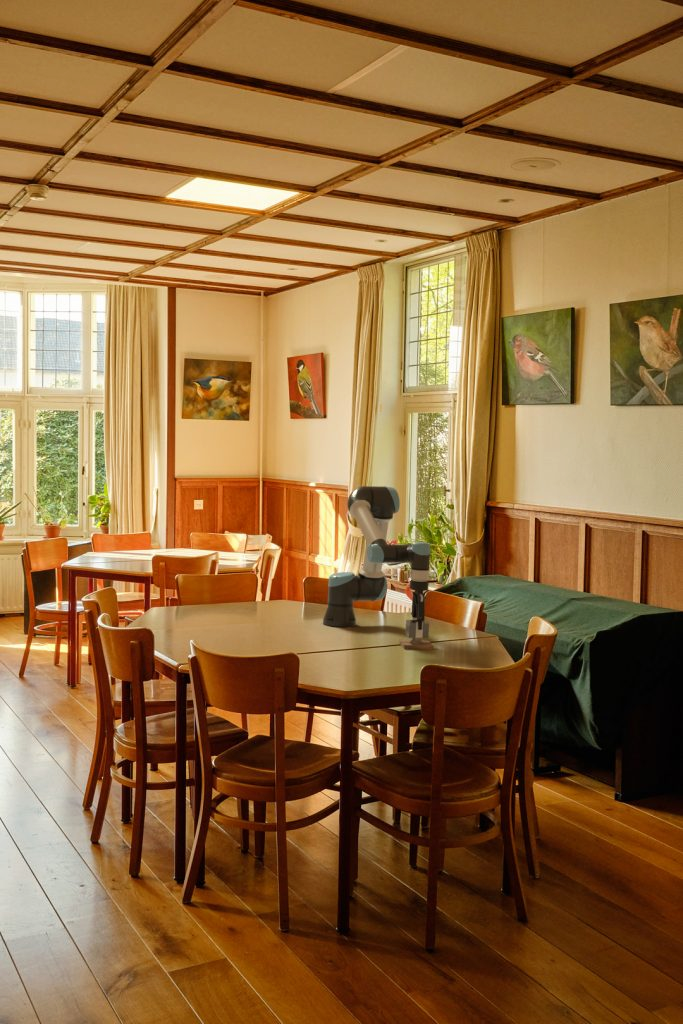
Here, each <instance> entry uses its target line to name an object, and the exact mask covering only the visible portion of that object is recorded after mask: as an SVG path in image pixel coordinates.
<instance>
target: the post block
mask: <svg viewBox="0 0 683 1024" xmlns="http://www.w3.org/2000/svg"><path fill="white" fill-rule="evenodd" d="M398 643H399V645H400V646H401V647H402V648H403V649H404V650H419V651H421V650H422V651H423V650H426V651H429V650H430V651H434V650H435V646H434V645H433V643H432V642H430V641H429V640H427V639H422V638H412V639H399V640H398Z"/></svg>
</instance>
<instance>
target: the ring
mask: <svg viewBox="0 0 683 1024" xmlns="http://www.w3.org/2000/svg"><path fill="white" fill-rule="evenodd" d="M429 632H430V622H428V621H427V620H424V621H423V635H422V638H421V639H429V636H430V635H429V634H430V633H429ZM405 635H406V636H407V637H408V638H409V639H410V638H416V637H415V636H416V622H415V620H412V619H405Z"/></svg>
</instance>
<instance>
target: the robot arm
mask: <svg viewBox="0 0 683 1024" xmlns="http://www.w3.org/2000/svg"><path fill="white" fill-rule="evenodd" d="M346 505H347V511H348V512H349V515H350V516H351V517H352V518H354V520H355V521H356V524H357V525H358V528H359V529H360V531H361V533H362V535H363V538H364V540H365V542H366V543H365V550H364V556H363V557H364V558H363V563H362V567H361V568H360V569H359V570H358V575H355V573H354V572H351V571H342V572H336V573H332V574H330V575H329V577H328V582H327V583H328V584H327V586H328V587H327V589H328V590H327V606H326V607H327V608H326V610H325V613H324V615H323V618H322V624H323V625H324V626H329V627H339V628H340V627H341V628H345V627H346V628H349V627H355V626H357V618H356V617H357V616H356V614H355V610H354V602H377V601H381V600H382V599H383V598H384V597H385V596H386V594H387V590H388V579H387V577H386V575H385V574H384V571H383V570H382V568H383V564H386V563H387V564H389V563H391V564H392V563H394V564H397V563H398V564H399V563H400V564H403V563H404V564H410V571H409V575H410V579H411V580H410V581H409V589H410V590H411V591H412V603H411V612H410V614H411V620H415V622H416V636H415V637H416V638H421V639H423V638H422V635H423V621H424V620H425V614H426V613H425V612H426V611H425V605H426V604H425V600H426V596H425V594H424V591H428V590H429V585H430V583H429V580H430V561H431V545H430V543H429V542H427V541H413V542H412V543H403V544H388V542H387V536H388V529H389V522H390V521H391V520H393V517H394V514H397V513H398V512H399V511H400V508H401V507H400V506H401V503H400V497H399V493H398V491H397V489H396V488H394V487H392V486H386V485H385V486H384V485H383V486H378V485H377V486H375V485H374V486H372V485H370V486H368V485H364V486H363V485H361V486H357V488H354V489H353V490H352V492H351V493H350V494H349V497H348V499H347V504H346Z"/></svg>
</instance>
